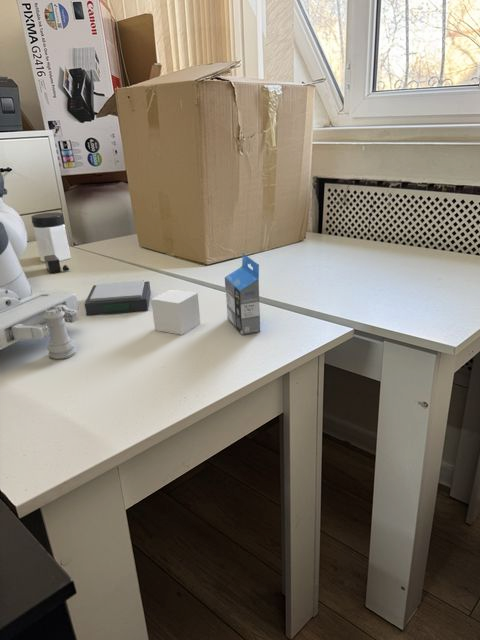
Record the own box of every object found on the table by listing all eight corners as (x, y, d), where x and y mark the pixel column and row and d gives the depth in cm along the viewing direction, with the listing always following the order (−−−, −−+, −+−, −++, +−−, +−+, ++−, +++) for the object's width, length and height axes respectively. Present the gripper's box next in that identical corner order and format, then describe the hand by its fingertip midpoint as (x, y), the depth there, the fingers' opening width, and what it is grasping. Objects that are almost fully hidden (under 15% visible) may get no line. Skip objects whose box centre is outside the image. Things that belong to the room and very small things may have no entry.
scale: (86, 316, 100) (83, 301, 99) (95, 296, 111) (92, 282, 110) (147, 311, 102) (145, 296, 100) (150, 292, 113) (149, 278, 112)
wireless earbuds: (51, 274, 128) (48, 262, 126) (46, 268, 133) (43, 256, 132) (70, 271, 130) (67, 259, 129) (64, 265, 136) (62, 253, 134)
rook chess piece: (81, 353, 84) (72, 308, 81) (55, 362, 81) (45, 316, 78) (69, 346, 87) (60, 302, 84) (44, 354, 84) (33, 309, 81)
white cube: (200, 323, 95) (197, 292, 92) (182, 335, 90) (178, 303, 88) (174, 318, 98) (170, 288, 95) (154, 330, 93) (150, 298, 90)
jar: (33, 262, 140) (23, 218, 135) (49, 254, 147) (40, 212, 142) (63, 262, 138) (54, 217, 133) (77, 254, 146) (69, 212, 140)
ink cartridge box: (226, 318, 97) (222, 255, 91) (245, 315, 98) (242, 252, 93) (241, 335, 89) (237, 267, 84) (261, 332, 90) (259, 264, 85)
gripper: (45, 311, 97) (104, 319, 92) (-50, 355, 80) (16, 368, 75) (38, 279, 94) (99, 286, 89) (-63, 318, 77) (5, 329, 72)
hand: (60, 324), depth 82 cm, fingers open, 5 cm apart
